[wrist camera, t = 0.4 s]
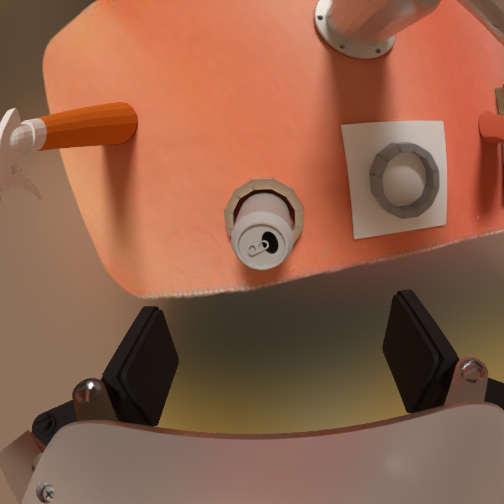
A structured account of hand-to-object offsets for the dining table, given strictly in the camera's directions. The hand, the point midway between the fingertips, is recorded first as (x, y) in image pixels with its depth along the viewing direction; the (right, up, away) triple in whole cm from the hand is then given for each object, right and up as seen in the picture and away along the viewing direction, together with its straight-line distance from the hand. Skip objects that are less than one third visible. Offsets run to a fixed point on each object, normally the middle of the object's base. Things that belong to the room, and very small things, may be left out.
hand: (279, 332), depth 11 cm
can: (+1, +9, +32) cm, 33 cm away
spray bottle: (-22, +22, +28) cm, 42 cm away
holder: (+22, +15, +28) cm, 38 cm away
